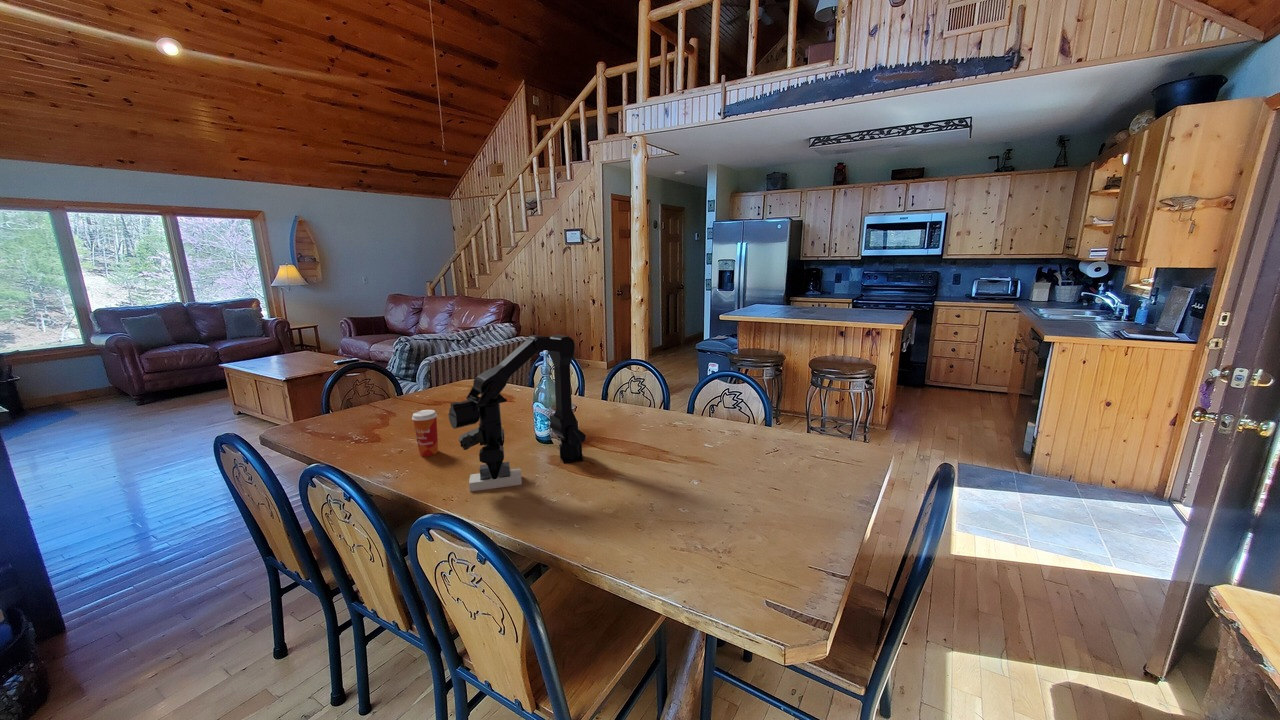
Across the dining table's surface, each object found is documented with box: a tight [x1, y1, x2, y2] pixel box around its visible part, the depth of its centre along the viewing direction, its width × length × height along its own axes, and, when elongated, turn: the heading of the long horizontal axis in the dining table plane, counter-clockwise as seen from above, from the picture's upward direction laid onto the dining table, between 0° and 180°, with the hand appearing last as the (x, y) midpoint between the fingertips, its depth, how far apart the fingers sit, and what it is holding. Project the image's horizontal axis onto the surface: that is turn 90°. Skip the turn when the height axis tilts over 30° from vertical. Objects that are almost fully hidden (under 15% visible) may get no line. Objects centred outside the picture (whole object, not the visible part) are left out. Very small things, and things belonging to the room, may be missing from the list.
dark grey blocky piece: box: [479, 461, 511, 480], centre depth 138 cm, size 8×3×5 cm, turn 105°
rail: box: [468, 468, 523, 492], centre depth 138 cm, size 14×6×2 cm, turn 105°
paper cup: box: [411, 409, 439, 457], centre depth 160 cm, size 8×8×14 cm
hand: (495, 472), depth 138 cm, fingers open, 9 cm apart
